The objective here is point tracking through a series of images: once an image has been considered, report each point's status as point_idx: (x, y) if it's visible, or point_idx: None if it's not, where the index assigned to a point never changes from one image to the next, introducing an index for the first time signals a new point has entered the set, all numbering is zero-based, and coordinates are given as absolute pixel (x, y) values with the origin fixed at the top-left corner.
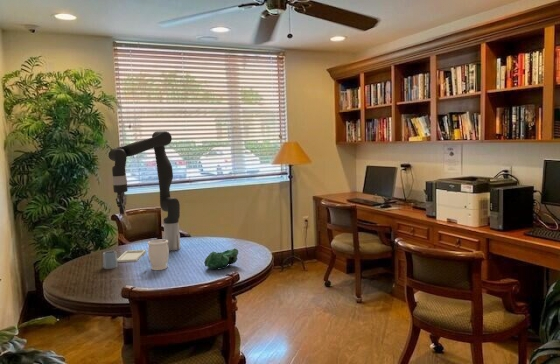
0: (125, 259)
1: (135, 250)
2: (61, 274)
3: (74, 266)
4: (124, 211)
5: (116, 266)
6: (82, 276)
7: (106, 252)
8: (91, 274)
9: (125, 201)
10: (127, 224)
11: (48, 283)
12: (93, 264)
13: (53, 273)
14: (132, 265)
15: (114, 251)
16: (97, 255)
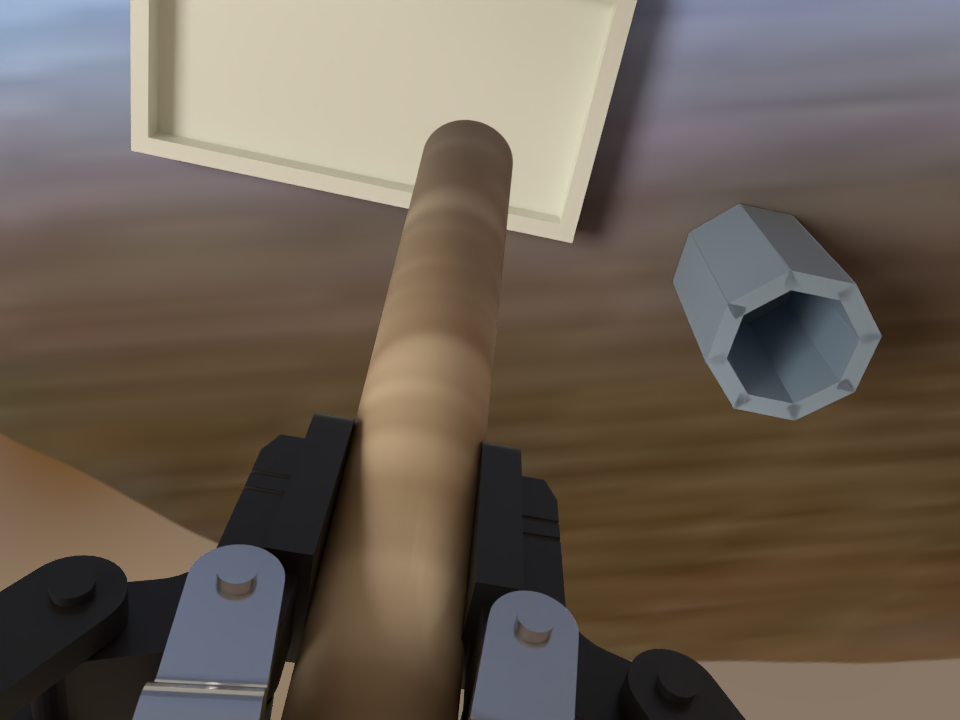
0: (584, 136)
1: (143, 28)
2: (722, 615)
3: None
4: (448, 460)
5: (780, 218)
6: (883, 476)
7: (741, 382)
8: (862, 416)
9: (209, 709)
10: (504, 234)
11: (931, 658)
12: (505, 431)
13: None
14: (736, 37)
15: (777, 296)
16: (160, 428)
